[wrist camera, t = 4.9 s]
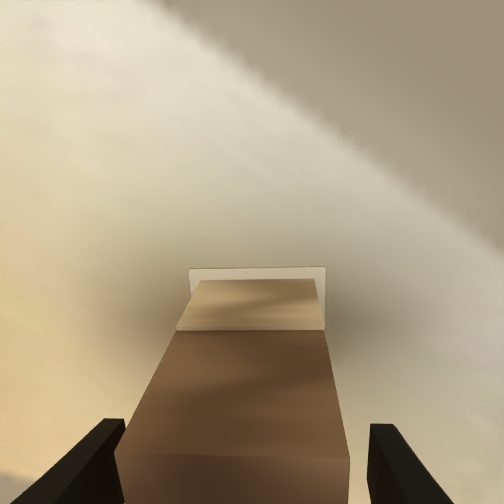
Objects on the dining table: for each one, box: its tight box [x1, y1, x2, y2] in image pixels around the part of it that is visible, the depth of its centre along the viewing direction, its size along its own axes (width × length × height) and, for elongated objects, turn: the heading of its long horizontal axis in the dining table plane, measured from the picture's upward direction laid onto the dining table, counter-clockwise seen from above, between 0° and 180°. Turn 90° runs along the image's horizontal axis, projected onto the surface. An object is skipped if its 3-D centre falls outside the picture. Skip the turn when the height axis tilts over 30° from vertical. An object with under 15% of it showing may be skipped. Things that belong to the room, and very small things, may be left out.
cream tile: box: [188, 267, 326, 333], centre depth 17 cm, size 6×6×1 cm
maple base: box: [176, 279, 324, 331], centre depth 15 cm, size 5×5×4 cm
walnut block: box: [114, 330, 350, 504], centre depth 11 cm, size 5×5×5 cm
